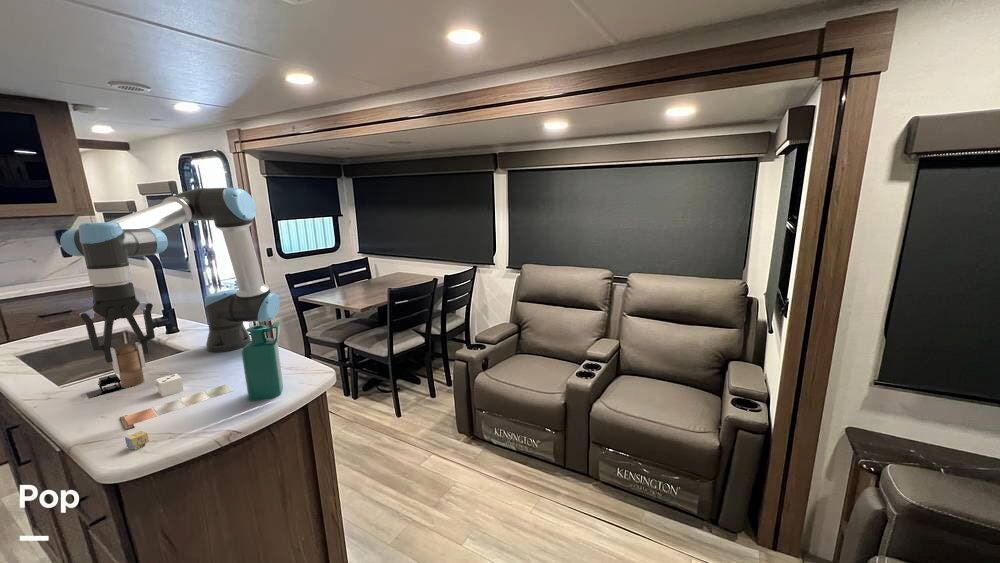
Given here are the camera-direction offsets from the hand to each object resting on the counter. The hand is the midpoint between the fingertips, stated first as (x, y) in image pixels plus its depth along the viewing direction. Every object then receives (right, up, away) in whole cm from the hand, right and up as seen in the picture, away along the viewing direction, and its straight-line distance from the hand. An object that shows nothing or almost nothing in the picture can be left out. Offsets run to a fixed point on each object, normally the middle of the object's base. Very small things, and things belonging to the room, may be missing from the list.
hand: (130, 369), depth 100 cm
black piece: (-26, -12, +20) cm, 34 cm away
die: (-4, -12, +17) cm, 21 cm away
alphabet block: (+11, -17, -9) cm, 22 cm away
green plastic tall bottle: (+28, -12, +15) cm, 34 cm away
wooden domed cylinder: (0, -4, +1) cm, 4 cm away
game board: (+6, -13, +10) cm, 17 cm away
